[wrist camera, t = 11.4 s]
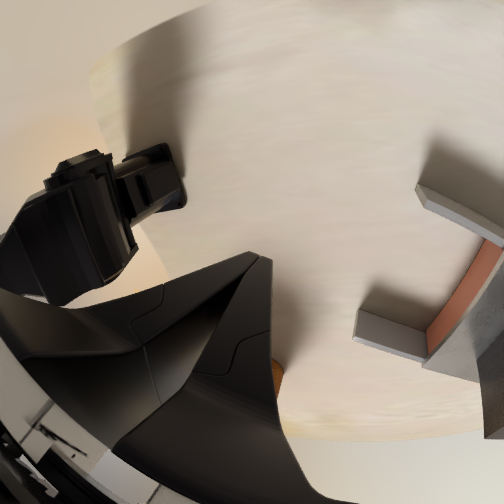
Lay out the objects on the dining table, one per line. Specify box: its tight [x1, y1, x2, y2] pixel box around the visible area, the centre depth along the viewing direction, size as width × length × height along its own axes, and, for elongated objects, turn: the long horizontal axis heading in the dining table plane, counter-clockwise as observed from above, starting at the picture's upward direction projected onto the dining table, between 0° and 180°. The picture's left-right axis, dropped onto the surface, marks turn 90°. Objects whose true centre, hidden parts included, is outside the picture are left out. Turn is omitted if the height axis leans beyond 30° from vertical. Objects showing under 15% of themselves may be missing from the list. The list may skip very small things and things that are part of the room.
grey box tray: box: [352, 184, 504, 362], centre depth 17 cm, size 19×13×4 cm
